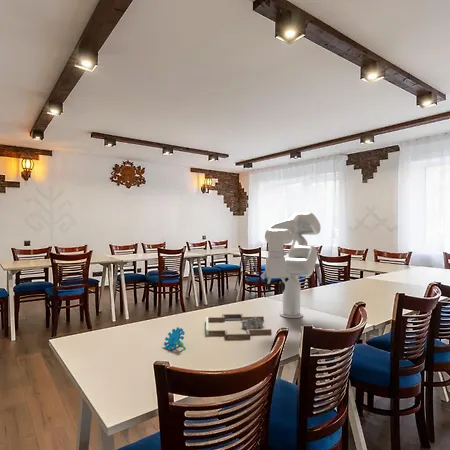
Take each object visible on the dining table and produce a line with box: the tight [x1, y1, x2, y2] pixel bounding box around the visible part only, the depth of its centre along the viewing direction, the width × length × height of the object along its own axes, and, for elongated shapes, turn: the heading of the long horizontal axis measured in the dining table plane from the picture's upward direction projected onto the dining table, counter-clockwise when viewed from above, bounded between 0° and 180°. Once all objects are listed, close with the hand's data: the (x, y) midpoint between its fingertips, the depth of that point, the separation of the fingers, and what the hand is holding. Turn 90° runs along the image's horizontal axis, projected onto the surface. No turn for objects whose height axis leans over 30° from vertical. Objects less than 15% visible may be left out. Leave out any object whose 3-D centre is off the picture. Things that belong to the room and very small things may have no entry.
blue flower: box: [163, 326, 187, 351], centre depth 140 cm, size 11×6×10 cm
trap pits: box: [224, 318, 242, 322], centre depth 165 cm, size 31×9×1 cm, turn 3°
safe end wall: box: [205, 316, 209, 337], centre depth 165 cm, size 22×1×2 cm, turn 3°
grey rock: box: [240, 316, 265, 330], centre depth 166 cm, size 11×8×4 cm
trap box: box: [207, 313, 272, 340], centre depth 165 cm, size 33×29×2 cm
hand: (276, 290), depth 166 cm, fingers open, 5 cm apart
